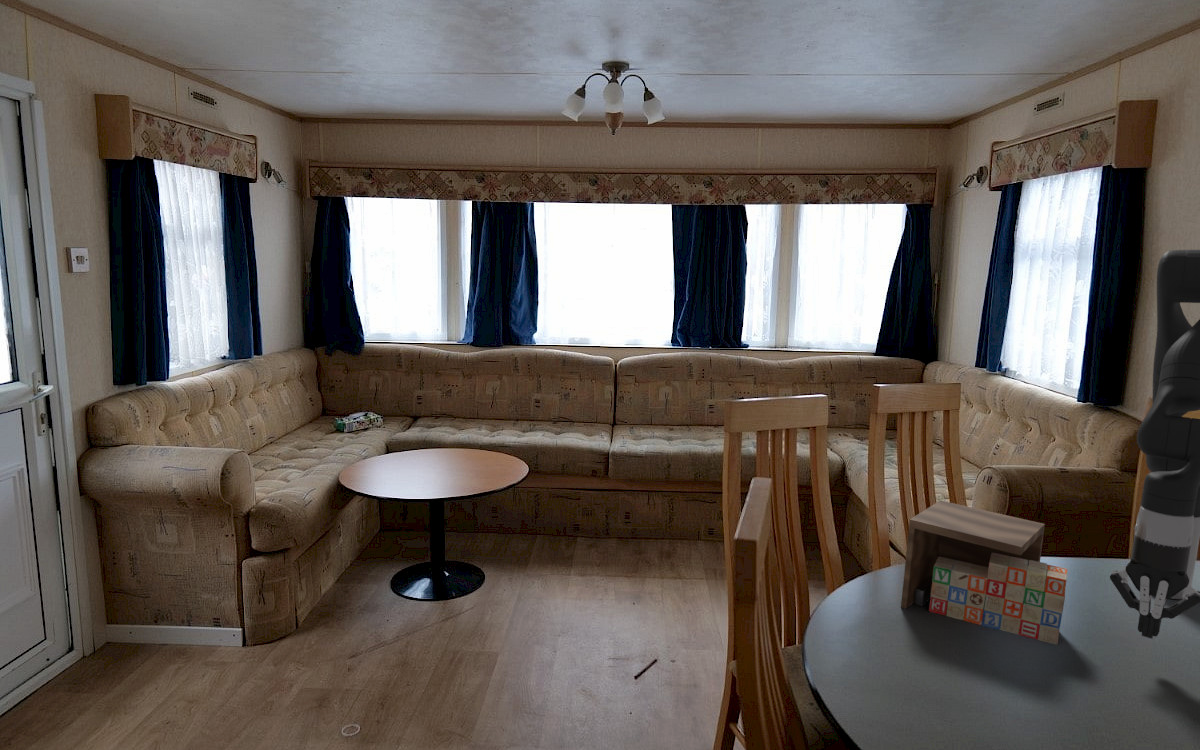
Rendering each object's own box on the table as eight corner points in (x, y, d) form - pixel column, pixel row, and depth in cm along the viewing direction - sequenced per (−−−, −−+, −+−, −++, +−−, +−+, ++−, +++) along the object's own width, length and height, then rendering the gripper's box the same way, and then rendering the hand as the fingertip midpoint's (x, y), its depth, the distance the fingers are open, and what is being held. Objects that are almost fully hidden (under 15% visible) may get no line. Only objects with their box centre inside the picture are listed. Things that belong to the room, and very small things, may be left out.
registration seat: (931, 588, 157) (933, 574, 156) (939, 590, 156) (941, 576, 155) (914, 603, 149) (915, 589, 149) (922, 606, 148) (923, 591, 148)
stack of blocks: (927, 612, 146) (934, 550, 144) (933, 600, 151) (939, 540, 149) (1058, 645, 135) (1067, 579, 133) (1059, 631, 140) (1068, 567, 138)
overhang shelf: (931, 581, 160) (940, 500, 157) (1033, 611, 148) (1044, 524, 145) (900, 607, 147) (909, 519, 145) (1009, 642, 135) (1021, 547, 132)
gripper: (1216, 542, 124) (1199, 642, 127) (1119, 521, 133) (1105, 615, 136) (1211, 554, 119) (1194, 658, 121) (1110, 531, 128) (1096, 629, 130)
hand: (1147, 635), depth 129 cm, fingers closed
